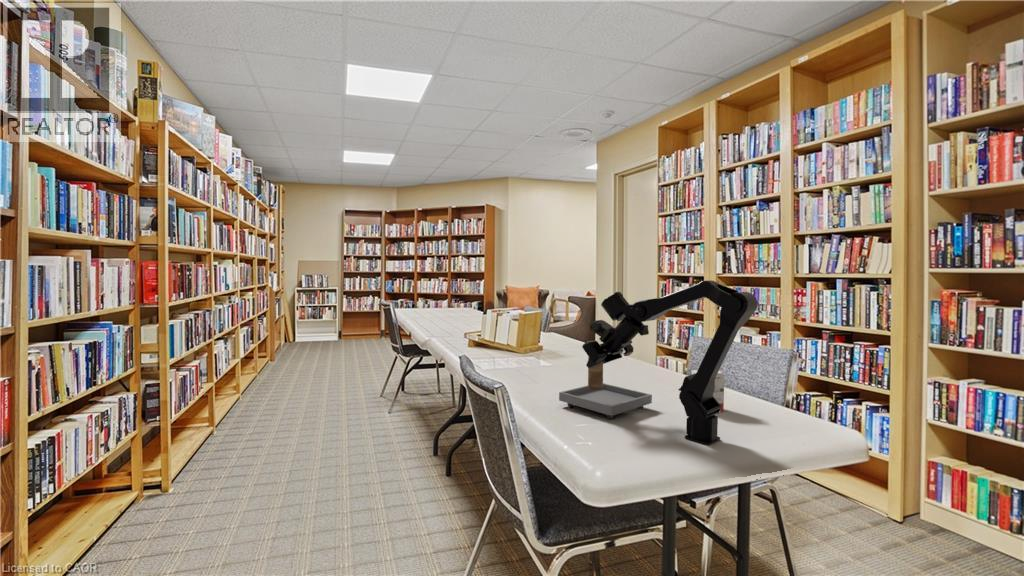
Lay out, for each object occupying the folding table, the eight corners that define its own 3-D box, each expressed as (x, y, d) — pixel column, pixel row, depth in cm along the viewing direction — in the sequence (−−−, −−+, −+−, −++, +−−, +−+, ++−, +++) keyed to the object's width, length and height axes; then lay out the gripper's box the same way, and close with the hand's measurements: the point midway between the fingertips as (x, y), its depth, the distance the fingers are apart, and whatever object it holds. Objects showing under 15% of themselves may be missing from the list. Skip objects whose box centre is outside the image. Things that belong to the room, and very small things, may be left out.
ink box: (718, 407, 150) (719, 370, 150) (723, 412, 145) (725, 373, 145) (689, 406, 151) (690, 369, 150) (694, 411, 146) (695, 372, 146)
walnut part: (605, 389, 144) (605, 352, 143) (591, 389, 143) (591, 353, 142) (599, 385, 148) (599, 350, 148) (585, 386, 147) (586, 350, 147)
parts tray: (651, 408, 148) (651, 394, 148) (611, 422, 135) (611, 406, 134) (599, 395, 163) (599, 382, 163) (559, 406, 150) (559, 392, 149)
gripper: (625, 310, 148) (595, 341, 156) (588, 313, 135) (557, 347, 144) (647, 338, 143) (615, 369, 151) (611, 344, 130) (578, 378, 138)
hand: (592, 365), depth 146 cm, fingers closed on walnut part, 4 cm apart
